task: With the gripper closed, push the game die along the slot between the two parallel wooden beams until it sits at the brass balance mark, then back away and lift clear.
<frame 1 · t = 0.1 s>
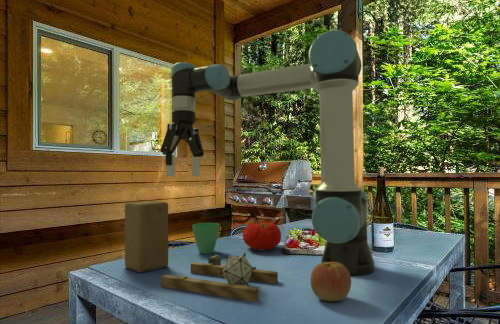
hand: (184, 176, 106), 28 cm above the table, fingers open, 13 cm apart
parallel wooden beams: (220, 284, 84), on the table
tomato: (262, 249, 123), on the table
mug: (204, 251, 121), on the table
apple: (330, 300, 73), on the table
game die: (237, 287, 82), on the table
wooden block: (146, 267, 101), on the table
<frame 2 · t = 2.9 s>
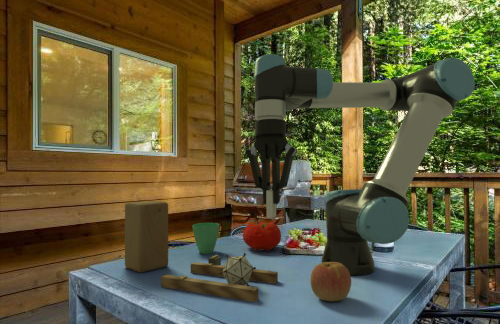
hand: (271, 217, 79), 18 cm above the table, fingers closed
nothing on the table moved.
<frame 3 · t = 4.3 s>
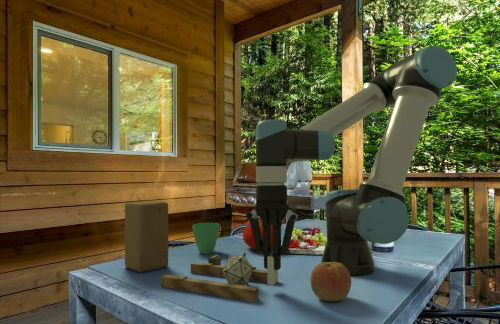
hand: (272, 282, 78), 2 cm above the table, fingers closed
nothing on the table moved.
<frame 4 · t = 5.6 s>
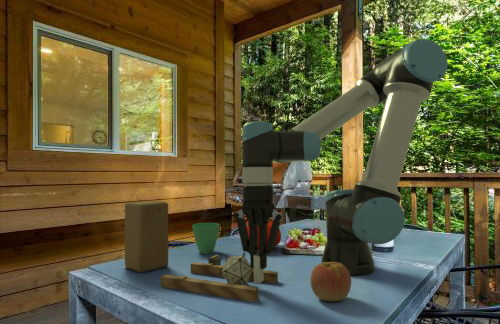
hand: (258, 281, 79), 2 cm above the table, fingers closed
game die: (237, 287, 82), on the table, touching gripper
everything else where it was.
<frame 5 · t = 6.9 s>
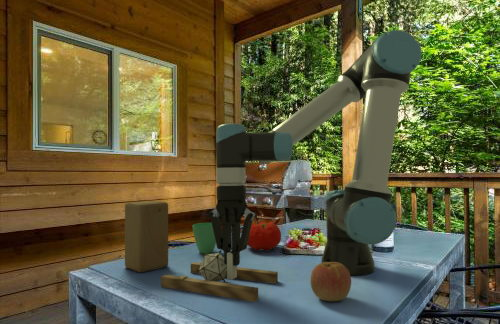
hand: (232, 277, 83), 2 cm above the table, fingers closed
game die: (214, 283, 85), on the table, touching gripper
everything else where it was.
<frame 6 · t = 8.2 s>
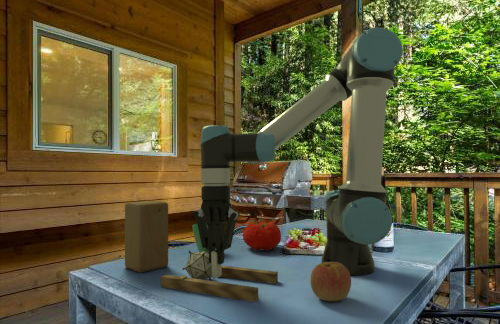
hand: (216, 276, 84), 2 cm above the table, fingers closed
game die: (200, 281, 87), on the table, touching gripper
everything else where it was.
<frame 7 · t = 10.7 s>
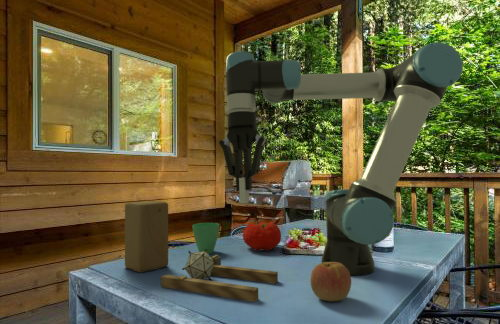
hand: (244, 202, 85), 21 cm above the table, fingers closed
game die: (199, 281, 87), on the table
everything else where it was.
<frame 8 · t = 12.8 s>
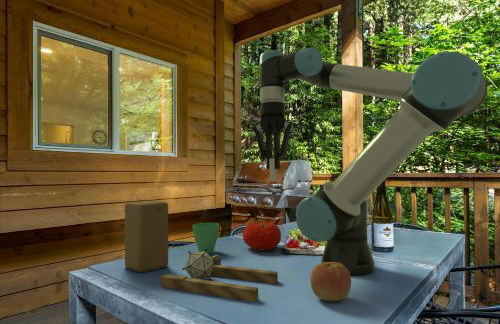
hand: (273, 180, 99), 26 cm above the table, fingers closed
nothing on the table moved.
at the end: game die inside the target area (0.8 cm from its centre), on the table; game die moved 11.5 cm from its start; game die touching table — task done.
